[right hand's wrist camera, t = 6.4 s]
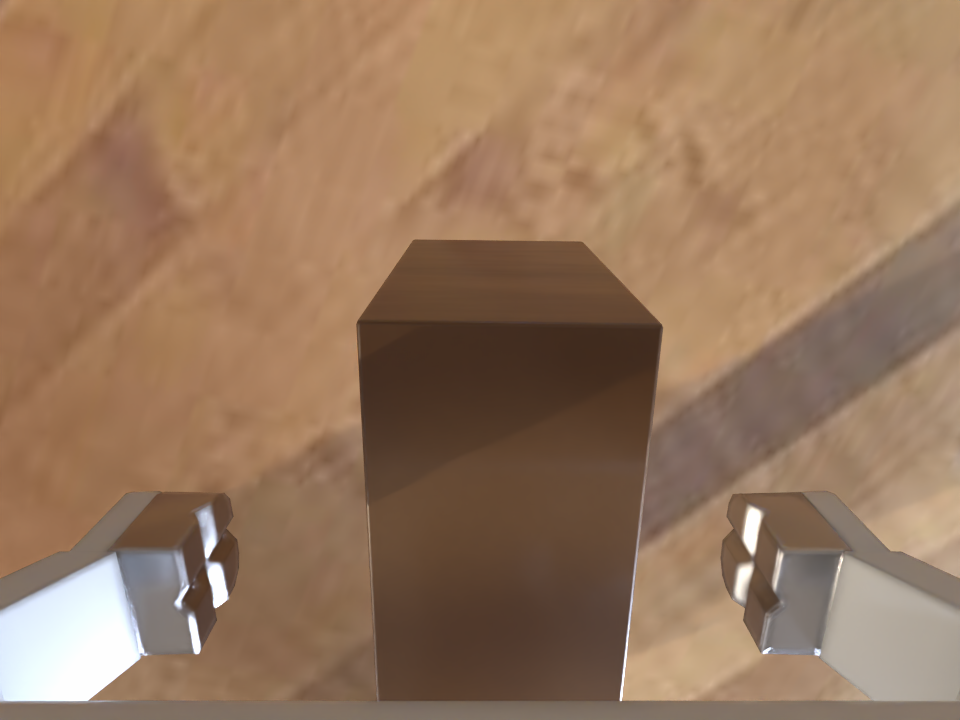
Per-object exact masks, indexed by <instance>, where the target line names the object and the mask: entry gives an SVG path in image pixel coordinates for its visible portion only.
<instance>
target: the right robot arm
mask: <svg viewBox="0 0 960 720" xmlns="http://www.w3.org/2000/svg"><path fill="white" fill-rule="evenodd" d="M232 518H233V512H232V506H231V501H230V498H229V497H228V496H227V495H226V494H225V493H202V492H161V491H150V492H131V493H126V494H125V495H124V496H123V497H122V498H121V499H120V500H119V501H118V502H117V503H116V504H115V505H114V506H113V507H112V508H111V509H110V510H109V512H108V513H107V514H106V515H105V516H104V517H103V518H102V519H101V520H100V521H99V522H98V523H97V524H96V525H95V526H94V527H93V528H92V529H91V530H90V531H89V532H88V533H87V534H86V535H85V536H84V537H83V538H82V539H81V540H80V541H79V542H78V543H77V544H76V545H75V546H74V547H73V548H72V550H71V551H70V552H57V553H55V554H53V555H51V556H49V557H46V558H44V559H42V560H40V561H38V562H35V563H33V564H31V565H29V566H27V567H24V568H22V569H20V570H18V571H16V572H14V573H11V574H9V575H7V576H5V577H3V578H0V720H960V579H959V578H957V577H955V576H953V575H951V574H949V573H946V572H944V571H942V570H940V569H938V568H935V567H933V566H931V565H929V564H927V563H925V562H922V561H920V560H918V559H916V558H914V557H911V556H909V555H907V554H905V553H903V552H890V550H889V549H888V548H887V547H886V546H885V545H884V544H883V543H882V542H881V541H880V540H879V539H878V538H877V537H876V536H875V535H874V534H873V533H872V532H871V531H870V530H869V529H868V528H867V527H866V526H865V525H864V524H863V523H862V522H861V521H860V520H859V519H858V518H857V517H856V515H855V514H854V513H853V512H852V511H851V510H850V509H849V508H848V507H847V506H846V505H845V504H844V503H843V502H842V501H841V500H840V499H839V498H838V497H837V496H836V495H835V494H833V493H830V492H828V491H815V492H791V493H752V494H733V495H732V497H731V499H730V502H729V505H728V511H727V518H728V520H729V521H730V523H731V524H732V526H733V528H734V529H733V530H732V531H731V532H730V533H729V534H728V535H727V536H726V537H725V538H724V539H723V543H722V551H721V566H722V576H723V579H724V582H725V586H726V588H727V590H728V592H729V594H730V596H731V598H732V600H734V601H735V602H737V603H738V604H740V605H741V606H743V607H744V608H745V613H744V619H743V621H744V623H745V625H746V626H747V628H748V630H749V632H750V634H751V636H752V637H753V639H754V641H755V643H756V645H757V647H758V649H759V650H760V652H761V654H795V655H820V656H819V658H820V659H821V660H822V661H824V662H825V663H826V664H827V665H829V666H830V667H831V668H832V669H834V670H835V671H836V672H837V673H839V674H840V675H841V676H843V677H844V678H845V679H846V680H848V681H849V682H850V683H851V684H853V685H854V686H855V687H856V688H858V689H859V690H860V691H861V692H863V693H864V694H865V695H866V696H868V697H869V698H870V699H871V700H873V701H88V700H89V699H90V698H91V697H93V696H94V695H95V694H96V693H98V692H99V691H100V690H101V689H103V688H104V687H105V686H106V685H108V684H109V683H110V682H111V681H113V680H114V679H115V678H116V677H118V676H119V675H120V674H122V673H123V672H124V671H125V670H127V669H128V668H129V667H130V666H132V665H133V664H134V663H135V662H137V661H138V660H139V659H140V658H141V656H140V655H164V654H199V652H200V650H201V649H202V647H203V645H204V643H205V641H206V639H207V638H208V636H209V634H210V632H211V630H212V628H213V626H214V625H215V623H216V621H217V618H216V613H215V608H216V607H217V606H219V605H220V604H222V603H223V602H225V601H226V600H228V598H229V596H230V594H231V592H232V590H233V588H234V586H235V582H236V578H237V574H238V569H239V549H238V542H237V539H236V538H235V537H234V536H233V535H232V534H231V533H230V532H229V531H228V530H227V529H226V528H227V526H228V525H229V523H230V521H231V520H232Z"/></svg>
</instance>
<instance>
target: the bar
mask: <svg viewBox="0 0 960 720" xmlns="http://www.w3.org/2000/svg"><path fill="white" fill-rule="evenodd" d="M356 327H357V345H358V363H359V382H360V400H361V419H362V437H363V455H364V474H365V492H366V510H367V529H368V547H369V566H370V584H371V602H372V621H373V639H374V657H375V676H376V694H377V701H622V694H623V685H624V676H625V666H626V657H627V648H628V639H629V630H630V621H631V612H632V603H633V594H634V585H635V576H636V567H637V558H638V549H639V540H640V531H641V522H642V513H643V504H644V495H645V486H646V477H647V468H648V459H649V450H650V441H651V432H652V423H653V414H654V405H655V396H656V387H657V378H658V369H659V359H660V350H661V341H662V332H663V327H662V324H661V323H660V322H659V321H658V320H657V319H656V318H655V317H654V316H653V315H652V314H651V313H650V312H649V311H648V310H647V309H646V308H645V307H644V305H643V304H642V303H641V302H640V301H639V300H638V299H637V298H636V297H635V296H634V295H633V294H632V293H631V292H630V291H629V290H628V289H627V288H626V287H625V286H624V285H623V284H622V283H621V282H620V280H619V279H618V278H617V277H616V276H615V275H614V274H613V273H612V272H611V271H610V270H609V269H608V268H607V267H606V266H605V265H604V264H603V263H602V262H601V261H600V260H599V259H598V258H597V257H596V255H595V254H594V253H593V252H592V251H591V250H590V249H589V248H588V247H587V246H586V245H585V244H584V243H583V242H563V241H483V240H413V241H412V243H411V244H410V246H409V247H408V249H407V250H406V252H405V253H404V254H403V256H402V257H401V259H400V260H399V262H398V263H397V265H396V266H395V267H394V269H393V270H392V272H391V273H390V275H389V276H388V278H387V279H386V280H385V282H384V283H383V285H382V286H381V288H380V289H379V291H378V292H377V294H376V295H375V296H374V298H373V299H372V301H371V302H370V304H369V305H368V307H367V308H366V309H365V311H364V312H363V314H362V315H361V317H360V318H359V320H358V321H357V324H356Z"/></svg>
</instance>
